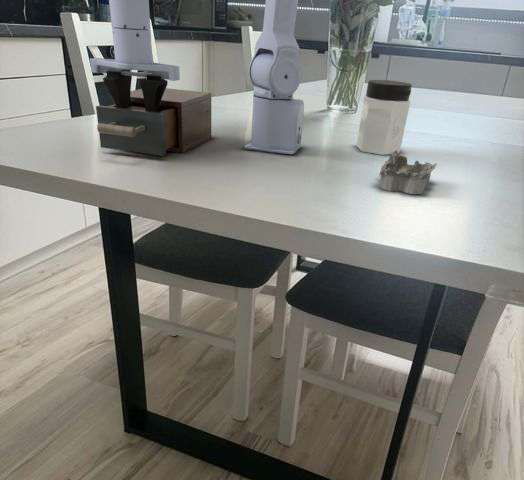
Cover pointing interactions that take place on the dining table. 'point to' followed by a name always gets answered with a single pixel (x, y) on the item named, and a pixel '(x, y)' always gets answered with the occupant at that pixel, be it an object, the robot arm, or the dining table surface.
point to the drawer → (138, 128)
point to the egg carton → (405, 175)
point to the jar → (383, 116)
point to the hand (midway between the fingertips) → (139, 125)
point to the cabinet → (186, 115)
